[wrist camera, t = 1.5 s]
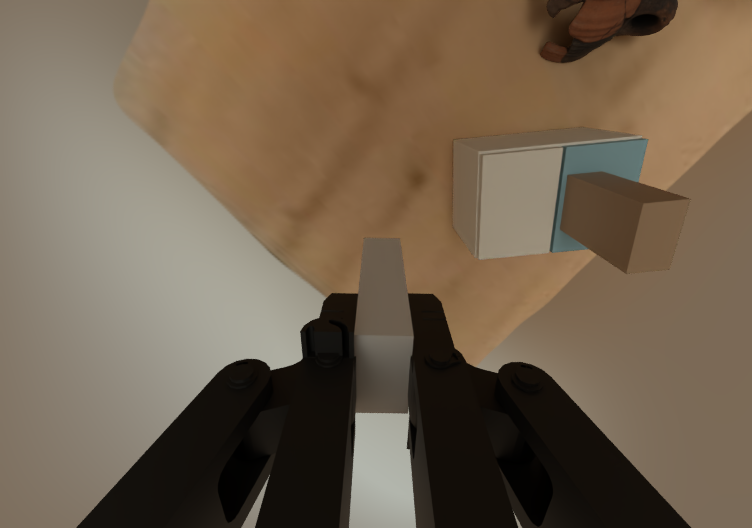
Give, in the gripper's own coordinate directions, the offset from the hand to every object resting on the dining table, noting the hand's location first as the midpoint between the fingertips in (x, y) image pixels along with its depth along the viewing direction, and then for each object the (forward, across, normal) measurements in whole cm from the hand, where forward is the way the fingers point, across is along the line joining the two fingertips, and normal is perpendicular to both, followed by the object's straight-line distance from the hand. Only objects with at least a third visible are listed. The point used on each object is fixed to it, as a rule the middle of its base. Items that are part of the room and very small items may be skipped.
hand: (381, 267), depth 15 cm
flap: (+18, +19, -2) cm, 27 cm away
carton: (+27, +15, -2) cm, 31 cm away
